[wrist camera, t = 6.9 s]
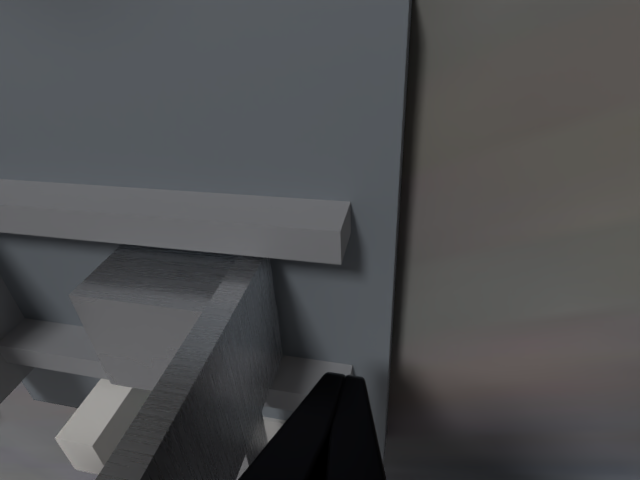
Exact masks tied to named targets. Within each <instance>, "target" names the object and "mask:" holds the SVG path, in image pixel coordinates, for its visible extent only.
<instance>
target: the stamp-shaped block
mask: <svg viewBox="0 0 640 480" xmlns="http://www.w3.org/2000/svg"><path fill="white" fill-rule="evenodd" d="M151 392H152V391H149V390H143V389H137V388H131V387H125V386H120V385H114V384H111V383H110V381H109V380H107V379H100V380H99V382H98V383H97V384H96V386H95V387H94V388H93V389H92V391H91V392H90V393H89V395H88V396H87V397H86V398H85V400H84V401H83V402H82V404H81V405H80V406H79V408H78V409H77V410H76V411H75V413H74V414H73V415H72V417H71V418H70V419H69V420H68V422H67V423H66V424H65V426H64V427H63V428H62V430H61V431H60V432H59V433H58V435H57V436H56V437H55V439H56V441H57V443H58V444H59V446H60V447H61V449H62V450H63V452H64V453H65V455H66V456H67V458H68V459H69V461H70V462H71V464H72V465H73V467H74V468H75V470H80V471H84V472H89V473H93V474H97V475H99V473H100V472H101V470H102V468H103V467H104V465H105V464H106V462H107V461H108V459H109V458H110V456H111V454H112V453H113V451H114V450H115V448H116V447H117V445H118V443H119V442H120V440H121V439H122V437H123V436H124V434H125V432H126V431H127V429H128V428H129V426H130V425H131V423H132V421H133V420H134V418H135V417H136V415H137V414H138V412H139V411H140V409H141V407H142V406H143V404H144V403H145V401H146V400H147V398H148V396H149V395H150V393H151Z"/></svg>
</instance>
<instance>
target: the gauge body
mask: <svg viewBox="0 0 640 480" xmlns="http://www.w3.org/2000/svg"><path fill="white" fill-rule="evenodd" d="M411 7H412V0H0V403H1V402H2V401H3V400H4V399H5V398H6V397H7V396H8V395H9V394H10V393H11V392H12V391H13V390H14V389H15V388H16V387H17V386H18V384H19V383H20V382H21V381H22V383H23V384H24V386H25V387H26V389H27V390H28V392H29V393H30V395H31V396H32V398H33V400H38V401H43V402H49V403H54V404H59V405H64V406H70V407H75V408H79V406H80V405H81V404H82V402H83V401H84V400H85V398H86V397H87V396H88V395H89V393H90V392H91V391H92V389H93V388H94V387H95V386H96V384H97V383H98V382H99V380H100V379H107V380H109V379H108V377H107V374H106V372H105V370H104V368H103V366H102V364H101V362H100V360H99V358H98V356H97V354H96V352H95V349H94V347H93V345H92V343H91V341H90V339H89V337H88V335H87V333H86V331H85V329H84V327H83V324H82V322H81V320H80V318H79V316H78V314H77V312H76V310H75V308H74V306H73V304H72V302H71V300H70V297H69V294H70V293H71V292H72V291H73V290H74V289H75V288H76V287H77V286H78V285H79V284H80V283H81V282H83V281H84V280H85V279H86V278H87V277H88V276H89V275H90V274H91V273H92V272H93V271H94V270H95V269H96V268H97V267H98V266H99V265H100V264H101V263H102V262H103V261H105V260H106V259H107V258H108V257H109V256H110V255H111V254H112V253H113V252H114V251H115V250H116V249H117V248H118V247H119V246H120V245H121V244H125V245H136V246H146V247H157V248H167V249H178V250H188V251H199V252H209V253H219V254H230V255H244V256H254V257H265V258H270V260H271V267H272V274H273V281H274V289H275V296H276V303H277V310H278V318H279V325H280V332H281V339H282V347H283V357H282V360H281V362H280V365H279V368H278V370H277V373H276V376H275V378H274V381H273V384H272V386H271V389H270V391H269V394H268V397H267V399H266V402H265V405H264V407H263V410H262V415H263V420H264V425H265V430H266V435H267V440H268V442H269V441H270V440H271V439H272V437H273V436H274V435H275V434H276V432H277V431H278V430H279V429H280V428H281V426H282V425H283V424H284V423H285V421H286V420H287V419H288V418H289V417H290V415H291V414H292V413H293V412H294V410H295V409H296V408H297V407H298V406H299V404H300V403H301V402H302V401H303V399H304V398H305V397H306V396H307V395H308V393H309V392H310V391H311V390H312V388H313V387H314V386H315V385H316V384H317V382H318V381H319V380H320V379H321V377H322V376H323V375H324V374H325V373H327V372H334V373H340V374H344V375H345V376H346V375H353V376H360V377H363V378H364V379H365V382H366V386H367V391H368V396H369V400H370V405H371V410H372V415H373V419H374V424H375V429H376V433H377V438H378V443H379V448H380V452H381V457H382V462H384V453H385V444H386V431H387V414H388V397H389V380H390V363H391V346H392V329H393V312H394V295H395V278H396V261H397V245H398V228H399V211H400V194H401V177H402V160H403V143H404V126H405V109H406V92H407V75H408V58H409V41H410V24H411Z"/></svg>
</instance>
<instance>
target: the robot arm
mask: <svg viewBox="0 0 640 480" xmlns="http://www.w3.org/2000/svg"><path fill="white" fill-rule="evenodd" d="M238 480H386V476H385V471H384V467H383V462H382V457H381V452H380V448H379V443H378V438H377V433H376V429H375V424H374V419H373V415H372V410H371V405H370V400H369V396H368V391H367V386H366V382H365V379H364V378H363V377H360V376H353V375H346V376H345V375H344V374H340V373H334V372H327V373H325V374H324V375H323V376H322V377H321V379H320V380H319V381H318V382H317V384H316V385H315V386H314V387H313V388H312V390H311V391H310V392H309V393H308V395H307V396H306V397H305V398H304V399H303V401H302V402H301V403H300V404H299V406H298V407H297V408H296V409H295V410H294V412H293V413H292V414H291V415H290V417H289V418H288V419H287V420H286V421H285V423H284V424H283V425H282V426H281V428H280V429H279V430H278V431H277V432H276V434H275V435H274V436H273V437H272V439H271V440H270V441H269V442H268V443H267V445H266V446H265V447H264V448H263V450H262V451H261V452H260V453H259V454H258V456H257V457H256V458H255V459H254V461H253V462H252V463H251V464H250V465H249V467H248V468H247V469H246V470H245V472H244V473H243V474H242V475H241V476H240V478H239V479H238Z"/></svg>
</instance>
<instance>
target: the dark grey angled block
mask: <svg viewBox="0 0 640 480" xmlns="http://www.w3.org/2000/svg"><path fill="white" fill-rule="evenodd" d="M69 297H70V300H71V302H72V304H73V306H74V308H75V310H76V312H77V314H78V316H79V318H80V320H81V322H82V324H83V327H84V329H85V331H86V333H87V335H88V337H89V339H90V341H91V343H92V345H93V347H94V349H95V352H96V354H97V356H98V358H99V360H100V362H101V364H102V366H103V368H104V370H105V372H106V374H107V377H108V379H109V381H110V383H111V384H114V385H120V386H125V387H131V388H137V389H143V390H149V391H152V392H151V393H150V395H149V396H148V398H147V400H146V401H145V403H144V404H143V406H142V407H141V409H140V411H139V412H138V414H137V415H136V417H135V418H134V420H133V421H132V423H131V425H130V426H129V428H128V429H127V431H126V432H125V434H124V436H123V437H122V439H121V440H120V442H119V443H118V445H117V447H116V448H115V450H114V451H113V453H112V454H111V456H110V458H109V459H108V461H107V462H106V464H105V465H104V467H103V468H102V470H101V472H100V473H99V475H98V476H97V478H96V479H95V480H238V479H239V478H240V476H241V475H242V474H243V473H244V472H245V470H246V469H247V468H248V467H249V465H250V464H251V463H252V462H253V461H254V459H255V458H256V457H257V456H258V454H259V453H260V452H261V451H262V450H263V448H264V447H265V446H266V445H267V443H268V440H267V435H266V430H265V425H264V420H263V415H262V410H263V407H264V405H265V402H266V399H267V397H268V394H269V391H270V389H271V386H272V384H273V381H274V378H275V376H276V373H277V370H278V368H279V365H280V362H281V360H282V357H283V347H282V339H281V332H280V325H279V318H278V310H277V303H276V296H275V289H274V281H273V274H272V267H271V260H270V258H265V257H254V256H244V255H230V254H219V253H209V252H199V251H188V250H178V249H167V248H157V247H146V246H136V245H125V244H121V245H120V246H119V247H118V248H117V249H116V250H115V251H114V252H113V253H112V254H111V255H110V256H109V257H108V258H107V259H106V260H105V261H103V262H102V263H101V264H100V265H99V266H98V267H97V268H96V269H95V270H94V271H93V272H92V273H91V274H90V275H89V276H88V277H87V278H86V279H85V280H84V281H83V282H81V283H80V284H79V285H78V286H77V287H76V288H75V289H74V290H73V291H72V292H71V293H70V294H69Z"/></svg>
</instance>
